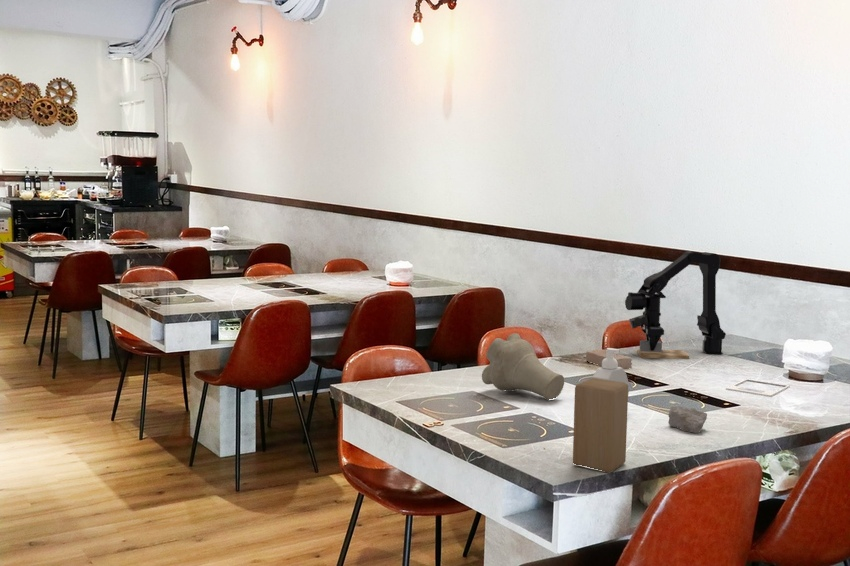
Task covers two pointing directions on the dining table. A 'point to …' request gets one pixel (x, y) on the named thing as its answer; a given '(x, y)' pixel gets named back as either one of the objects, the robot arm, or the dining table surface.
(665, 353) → the oak board
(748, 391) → the photo frame
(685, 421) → the stone
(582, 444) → the wooden block
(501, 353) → the vase
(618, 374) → the soap bottle
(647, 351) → the block
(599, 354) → the brick
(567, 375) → the dining table surface
